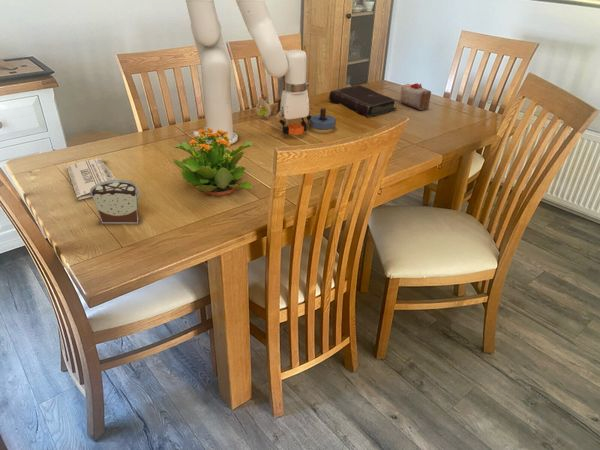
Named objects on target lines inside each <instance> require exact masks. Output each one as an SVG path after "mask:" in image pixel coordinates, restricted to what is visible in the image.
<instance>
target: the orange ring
mask: <svg viewBox="0 0 600 450" xmlns="http://www.w3.org/2000/svg"><path fill="white" fill-rule="evenodd" d="M288 127H289V134H288V135H292V136H294V135H295V136H296V135H297V136H298V135H302V134H303V133H304V126H302V125H301V123H288Z"/></svg>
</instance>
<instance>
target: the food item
mask: <svg viewBox="0 0 600 450" xmlns="http://www.w3.org/2000/svg"><path fill="white" fill-rule="evenodd" d="M431 94H432V91H431V90H428V89H426V88H424V87H423V85H422V83H418V82H416V83H412V84H411V83H406V84H403V85H401V93H400V103H401V104H403V105H406V106H409V107H411V108H414V109H416V110H417V111H423V110H428V109H429V107H430V106H429V105H430V102H431Z"/></svg>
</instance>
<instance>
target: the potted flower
mask: <svg viewBox="0 0 600 450" xmlns="http://www.w3.org/2000/svg"><path fill="white" fill-rule="evenodd" d="M198 131H199V135H200V136H199V135H198V137H196V139H191V140H189V143H188V142H187V141H183V142H182V143H176V144H175V145H174V146H173V148H175V149H180V150H183V151H185V152H187V153H188V154H190V155H189V158H188V157H185V158H183V159H182V160H181V161H179V160H178V159H174V158H173V159H172V161H173V163H174V164H175V165H176V166H177V167H179V168H181V175H182V179H183V180H184V181H185V182H186V183H188V184H189V185H193V186H195V187H194V189H196V190H198V191H200V192H201V191H202V192H205V193H206V194H208V195H210V196H217V197H219V196H227V195H229V194H231V193H233V192H234V191H235V190H236V189H240V190H241V189H245V190H246V189H248V190H249V189H253V188H254V187H253V184H252V183H251V182H250V183H249V182H248V181H247V180H245V181H243V182H241V183H240V184H237V182H236V181H237V180H239V179H241V178H242V177H243V176H244V174H245V170H246V167H245V166H241V165H239V166H238V165H237V164H238V163H239V161H240V160H241V159H242V157H243V154H244V153H245V151H243V150H244V149H246V148H251V147H253V145H254V143H253V142H252V141H249V140H247V141H244V142H243V143H242V144H241V145H240V146H239V147H238V148H237V149H232V150H231V151H230V149H227V148H229V147H230V146H231V144H230V143H229V138H228V135H227V134H228V132H227V131H226V132H225V131H224V132H223V130H222V131H221V130H217V133H212V132H213V130H212V129H210V128H208V131H207V130H204V129H199V130H198ZM206 132H207V133H206ZM205 135H207V136H206V139H208V140H207V141H206V139H205ZM219 137H221V138H222V139H223V138H224V140H222V139H221V138H220V139H219ZM213 139H214V140H213ZM209 140H210V142H211V140H212V142H211V144H206V142H209ZM210 142H209V143H210ZM196 147H198V150H196Z"/></svg>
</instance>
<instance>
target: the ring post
mask: <svg viewBox="0 0 600 450" xmlns="http://www.w3.org/2000/svg"><path fill="white" fill-rule="evenodd" d="M319 115H320V120H321V121H325V115H327V109H326V108H325V107H321V108H320V113H319ZM309 127H310V128H312V129H314V130H316V129H315V128H313V127H311V126H310V125H309ZM335 127H336V125H335V126H334V127H333V128H332V129H334V128H335ZM318 130H320V131H322V130H321V129H318ZM328 130H330V129H326V130H325V131H328Z"/></svg>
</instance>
